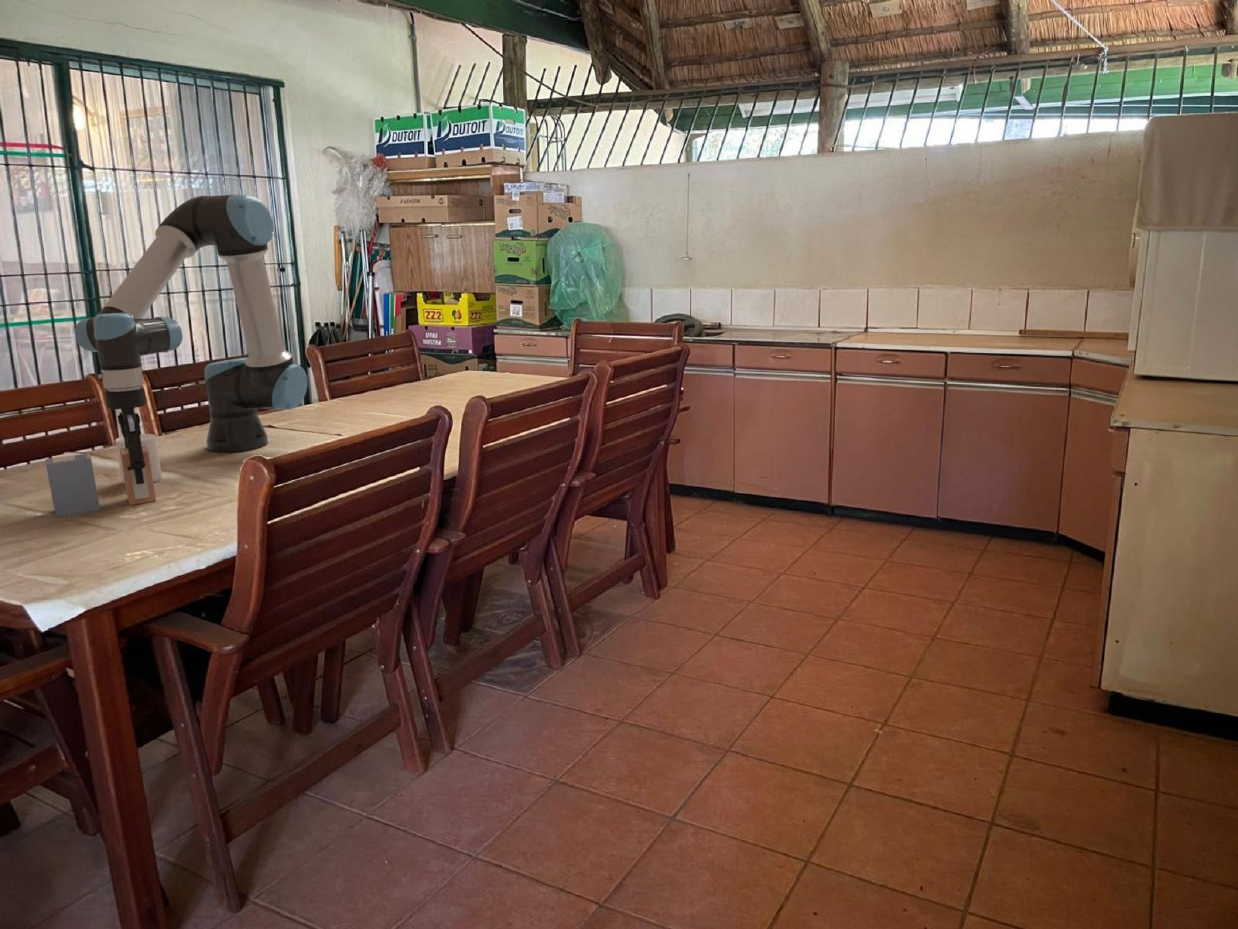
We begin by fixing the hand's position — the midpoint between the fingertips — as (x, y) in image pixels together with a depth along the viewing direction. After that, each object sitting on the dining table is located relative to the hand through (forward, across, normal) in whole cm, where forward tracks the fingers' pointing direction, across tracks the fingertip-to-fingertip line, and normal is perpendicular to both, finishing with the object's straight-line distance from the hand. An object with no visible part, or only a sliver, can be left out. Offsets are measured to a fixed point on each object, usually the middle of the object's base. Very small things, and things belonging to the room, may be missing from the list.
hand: (140, 493), depth 199 cm
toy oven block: (+1, 0, -12) cm, 12 cm away
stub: (+1, 0, 0) cm, 1 cm away
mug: (+2, -16, +1) cm, 16 cm away
